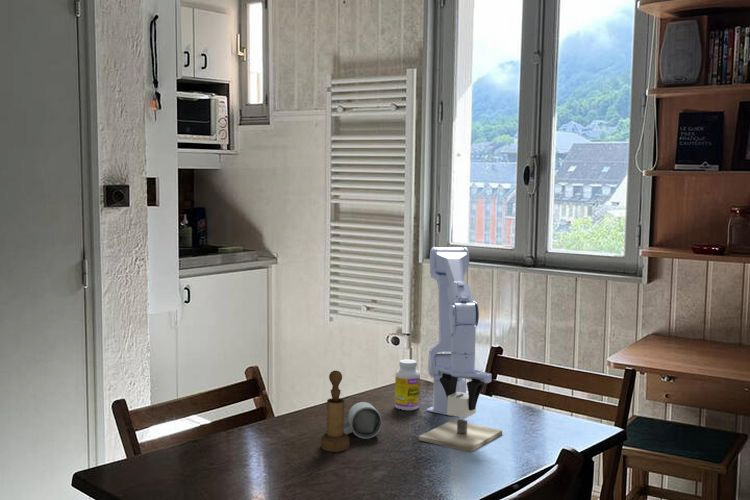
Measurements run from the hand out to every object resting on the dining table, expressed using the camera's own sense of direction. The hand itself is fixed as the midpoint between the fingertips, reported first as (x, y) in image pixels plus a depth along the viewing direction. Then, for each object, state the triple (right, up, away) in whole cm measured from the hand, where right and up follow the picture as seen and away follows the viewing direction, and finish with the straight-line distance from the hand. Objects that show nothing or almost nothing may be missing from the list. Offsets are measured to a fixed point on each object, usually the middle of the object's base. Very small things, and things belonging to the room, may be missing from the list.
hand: (461, 407), depth 199 cm
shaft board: (0, -7, +1) cm, 7 cm away
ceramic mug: (-25, -7, +2) cm, 26 cm away
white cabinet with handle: (0, -2, 0) cm, 2 cm away
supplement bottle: (-12, -5, +25) cm, 28 cm away
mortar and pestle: (-30, -8, -7) cm, 32 cm away
